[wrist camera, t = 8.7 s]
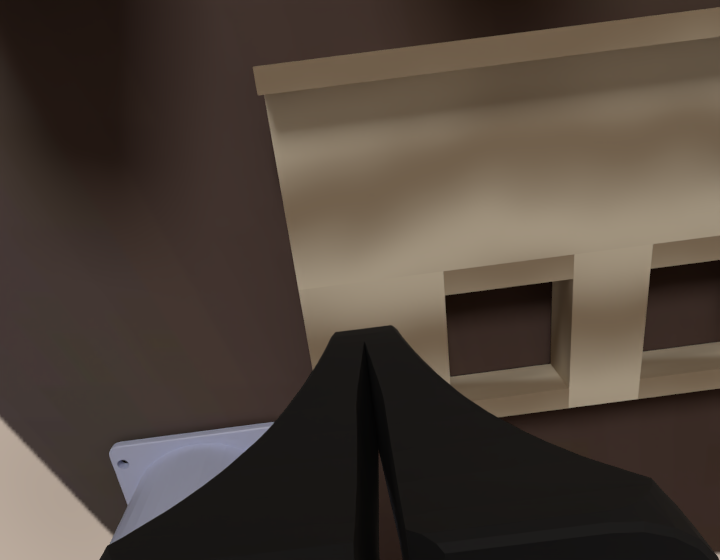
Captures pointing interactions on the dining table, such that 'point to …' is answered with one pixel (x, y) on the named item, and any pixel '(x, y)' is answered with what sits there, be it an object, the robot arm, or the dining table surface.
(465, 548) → the robot arm
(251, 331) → the dining table surface
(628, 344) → the tray
